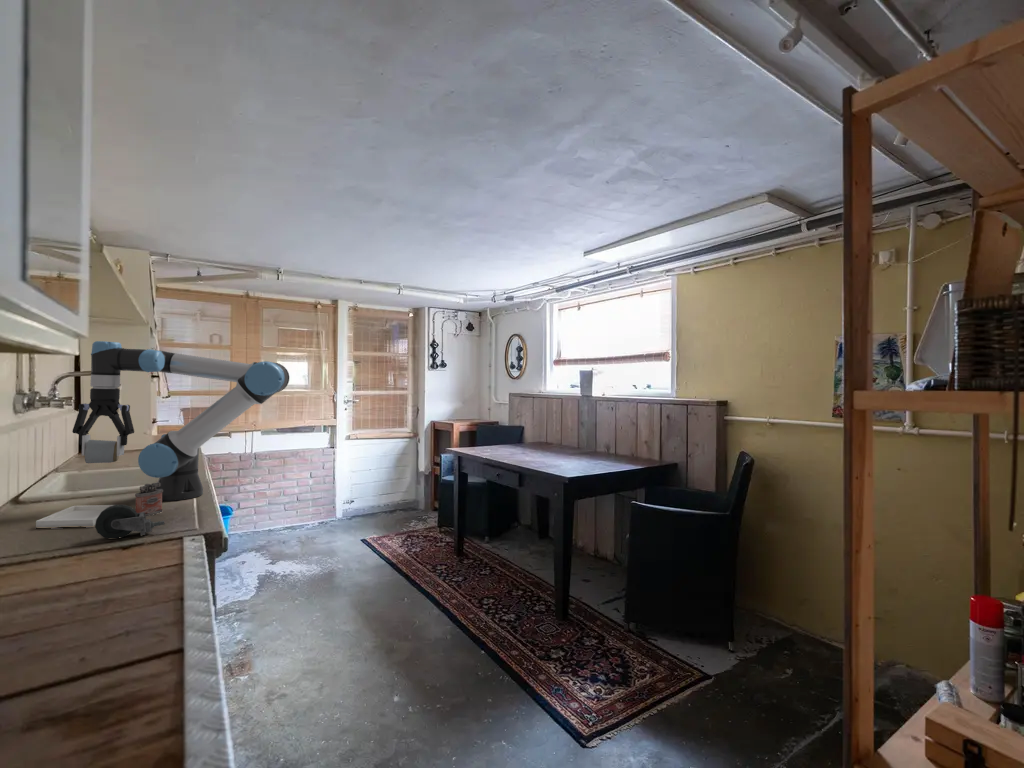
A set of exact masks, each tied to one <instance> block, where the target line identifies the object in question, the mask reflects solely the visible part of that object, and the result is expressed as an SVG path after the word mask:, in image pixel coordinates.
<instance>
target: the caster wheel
mask: <svg viewBox="0 0 1024 768" xmlns="http://www.w3.org/2000/svg"><path fill="white" fill-rule="evenodd" d="M112 505H113V506H110V507H108V508H106V509H105V510H103V511H102V512H101V513H100V515H99V516H98V518H97V519H96V524H95V526H94V528H95V530H96V532H97V534H99V535H100V537H102V538H105V539H108V538H119V537H122V538H124V536H125V537H127V536H128V535H129V534H131V533H133V532H138V533H140V536H141V535H145V536H146V533H151V532H152V531H153V529H154V528H155V527H158V526H162V525H165V520H160V521H156V522H155V521H152V519H151V518H148V519H147V518H146V516H145V512H140V513H137V512H136V509H135V508H133V507H132V506H130V505H126V504H112ZM119 539H120V538H119Z"/></svg>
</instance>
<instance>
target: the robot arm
mask: <svg viewBox="0 0 1024 768" xmlns="http://www.w3.org/2000/svg"><path fill="white" fill-rule="evenodd" d="M90 357H91V358H90V359H91V361H90V362H91V364H90V370H91V371H90V387H91V388H90V389H89V394H90V395H89V396H90V397H89V398H90V401H89V403H87V402H85V403H79V404H78V413H77V416H76V420H75V422H74V425H73V428H72V430H71V432H72V433H73V434H77V435H79V443H78V444H79V446H81V456H85V448H86V444H87V442H88V441H89V440H91V434H89V432H90V430H91V429H92V427H93V426H94V425H95V423H96V421H97V419H98V418H100V417H101V416H104V417H108V418H109V419H111V421H112V423H113V425H114V427H115V429H116V430H117V432H118V434H119V435H117V437H116V441H117V456H119V457H121V456H124V455H125V446H127V444H128V436H129V435H132V434H134V433H135V429H134V425H133V421H132V417H131V412H130V410H131V405H130V404H121V403H120V395H121V394H120V393H121V390H120V387H121V371H122V372H127V371H128V372H140V373H141V372H143V373H144V372H145V373H166V374H175V375H182V376H188V377H196V378H204V379H210V380H218V381H225V382H232V383H236V385H235V387H233V388H232V389H230V390H229V391H228V392H227V393H226V394H224V395H223V396H222V397H220V398H219V399H218V400H216V401H215V402H213V404H211V405H209V406H208V407H207V408H206V409H205V410H204V411H201V413H199V414H198V415H197V416H195V417H194V418H193V419H191V420H190V421H189V422H187V424H185V425H184V426H182V427H181V428H180V429H178V430H170V431H169V432H167V433H164V434H162V435H161V437H160V438H159V439H158V440H156V441H155V442H154V443H150V444H148V445H146V446H145V447H144V448H143V449H142V450H141V451H140V453H139V454H138V459H137V462H138V467H139V469H140V470H141V471H142V473H144V474H145V475H146V476H148V477H151V478H155V479H158V481H157V482H160V486H159V487H156V489H163V492H162V502H164V501H167V502H168V501H170V502H171V501H183V500H188V499H189V500H190V499H193V498H197V497H200V496H202V495H203V494H204V487H203V483H202V481H201V478H200V476H199V475H200V474H199V457H200V456H199V453H200V447H201V446H203V445H204V444H205V443H207V442H208V441H209V440H210V439H212V438H213V437H214V436H216V435H217V434H218V433H219V432H221V431H222V430H223V429H224V428H226V427H227V426H228V425H230V424H231V423H232V422H233V421H235V420H236V419H238V418H239V417H241V415H243V414H244V413H245V412H246V411H247V410H249V409H250V408H251V407H252V406H254V405H262V404H264V403H265V402H266V401H268V400H269V399H270V398H272V396H274V395H275V394H276V393H279V392H281V391H284V390H285V389H286V388H287V386H288V385H289V382H290V374H289V371H288V369H287V368H286V367H285V366H284V365H283V364H280V363H279V362H272V361H266V360H265V361H259V362H256V361H253V362H252V363H245V362H239V361H233V360H227V359H226V360H225V359H217V358H211V357H205V356H204V357H203V356H196V355H191V354H182V353H176V352H169V351H165V350H156V349H149V348H146V349H144V348H143V349H139V348H125V347H122V343H121V342H119V341H117V342H116V341H106V340H105V341H103V340H102V341H101V340H100V341H99V340H96V341H94V342H92V345H91V353H90ZM89 410H91V412H90V414H89V416H88V418H87V415H88V412H89ZM118 410H119V411H120V414H121V417H120V414H119V412H118ZM121 418H122V420H121ZM86 419H87V420H86Z"/></svg>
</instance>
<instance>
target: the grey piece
mask: <svg viewBox="0 0 1024 768" xmlns="http://www.w3.org/2000/svg"><path fill="white" fill-rule="evenodd" d="M119 458H120V456H117V440H105V439H104V440H103V439H102V440H101V439H90V440H89V441H88V442H87V444H86V448H85V455H84V462H85V463H86V464H102V463H103V464H107V463H108V464H109V463H110V464H111V463H116V462H117V461H118V460H119Z"/></svg>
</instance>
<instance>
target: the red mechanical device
mask: <svg viewBox="0 0 1024 768" xmlns="http://www.w3.org/2000/svg"><path fill="white" fill-rule="evenodd" d="M159 486H160V482H158V481H156V482H153V483H145V484H144V485H141V486H139V491H140V492H137V493H134V496H135V497H134V498H135V511H136V512H137V513H140V512H145V516H148V517H150V516H149V515H152V516H154V515H153V514H156V515H158V514H157V513H159V514H161V513H160V512H162V513H163V500H162V492H163V489H156V487H159Z"/></svg>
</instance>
